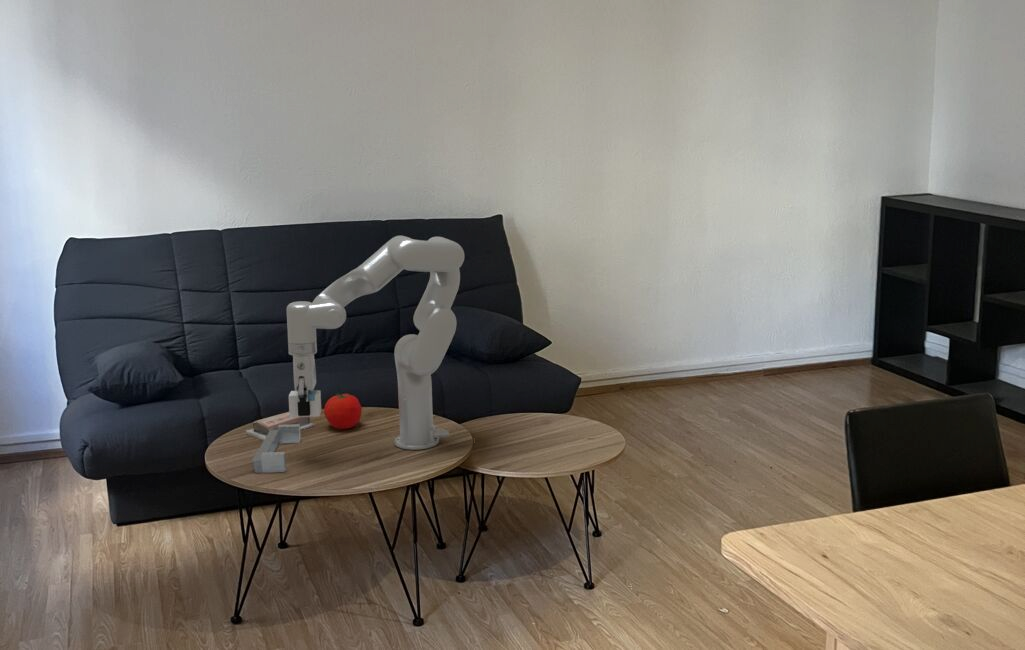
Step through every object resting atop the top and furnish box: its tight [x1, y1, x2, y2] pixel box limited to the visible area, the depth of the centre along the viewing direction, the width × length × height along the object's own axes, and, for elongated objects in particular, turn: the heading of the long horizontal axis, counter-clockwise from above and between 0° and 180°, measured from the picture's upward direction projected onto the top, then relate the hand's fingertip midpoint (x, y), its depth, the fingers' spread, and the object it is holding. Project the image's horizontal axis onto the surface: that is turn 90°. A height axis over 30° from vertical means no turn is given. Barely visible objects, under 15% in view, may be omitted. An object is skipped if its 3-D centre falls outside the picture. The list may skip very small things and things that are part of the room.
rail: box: [251, 424, 302, 474], centre depth 301 cm, size 9×26×5 cm, turn 2°
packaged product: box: [245, 411, 316, 441], centre depth 324 cm, size 18×5×10 cm
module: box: [288, 389, 322, 418], centre depth 295 cm, size 8×5×6 cm, turn 94°
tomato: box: [323, 392, 363, 430], centre depth 325 cm, size 11×13×10 cm
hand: (305, 411), depth 295 cm, fingers closed on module, 5 cm apart
